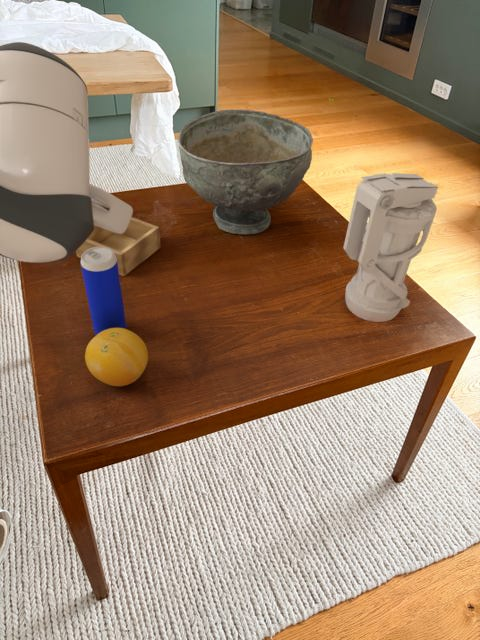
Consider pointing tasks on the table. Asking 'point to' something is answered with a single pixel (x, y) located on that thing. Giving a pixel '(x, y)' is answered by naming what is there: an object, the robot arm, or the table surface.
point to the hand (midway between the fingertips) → (90, 213)
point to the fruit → (116, 356)
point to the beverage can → (103, 288)
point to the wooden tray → (126, 243)
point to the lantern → (386, 241)
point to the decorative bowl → (244, 164)
